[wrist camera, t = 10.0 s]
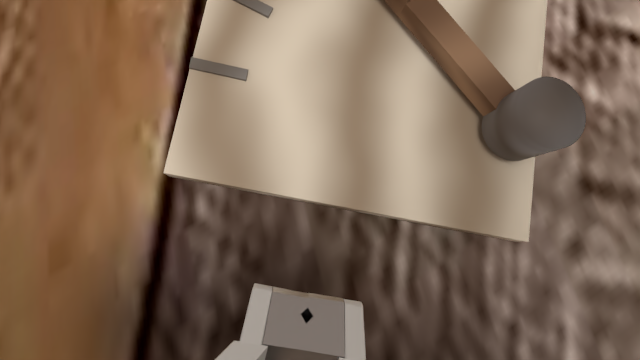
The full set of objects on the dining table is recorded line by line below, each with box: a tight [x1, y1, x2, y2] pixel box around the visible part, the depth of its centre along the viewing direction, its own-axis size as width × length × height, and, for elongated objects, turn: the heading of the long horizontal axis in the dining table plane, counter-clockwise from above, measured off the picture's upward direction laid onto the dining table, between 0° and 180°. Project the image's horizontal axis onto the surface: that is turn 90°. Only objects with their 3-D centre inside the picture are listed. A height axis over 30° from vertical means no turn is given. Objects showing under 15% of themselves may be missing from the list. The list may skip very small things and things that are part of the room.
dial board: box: [164, 0, 547, 242], centre depth 21 cm, size 20×20×1 cm
